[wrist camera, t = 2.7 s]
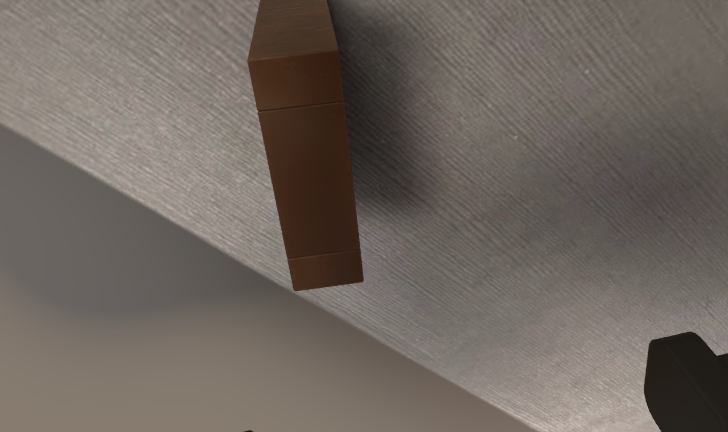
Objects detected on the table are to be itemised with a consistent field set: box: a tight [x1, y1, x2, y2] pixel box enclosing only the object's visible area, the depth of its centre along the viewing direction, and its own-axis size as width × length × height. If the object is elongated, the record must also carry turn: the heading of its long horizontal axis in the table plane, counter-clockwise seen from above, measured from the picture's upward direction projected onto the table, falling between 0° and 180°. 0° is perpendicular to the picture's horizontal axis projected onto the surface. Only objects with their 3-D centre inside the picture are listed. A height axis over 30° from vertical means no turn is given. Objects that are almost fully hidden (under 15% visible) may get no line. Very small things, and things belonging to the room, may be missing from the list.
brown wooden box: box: [248, 0, 364, 291], centre depth 25 cm, size 3×10×9 cm, turn 5°
